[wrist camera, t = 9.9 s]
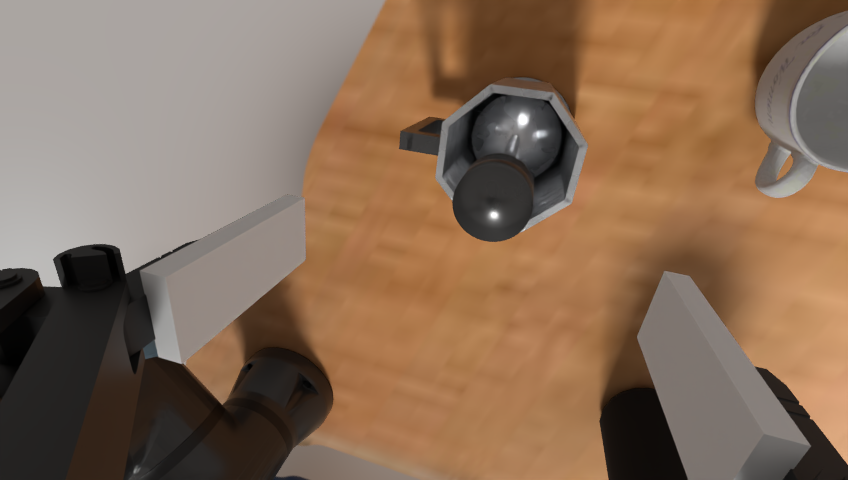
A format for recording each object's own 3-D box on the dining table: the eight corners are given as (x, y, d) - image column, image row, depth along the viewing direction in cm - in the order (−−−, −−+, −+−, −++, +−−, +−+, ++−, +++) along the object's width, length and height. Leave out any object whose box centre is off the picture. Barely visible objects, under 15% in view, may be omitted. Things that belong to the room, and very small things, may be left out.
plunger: (467, 171, 40) (408, 257, 23) (480, 87, 37) (423, 111, 19) (548, 186, 39) (553, 290, 21) (570, 99, 35) (597, 137, 18)
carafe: (429, 169, 44) (388, 207, 33) (441, 66, 40) (399, 68, 28) (557, 192, 41) (563, 243, 30) (586, 84, 37) (605, 96, 25)
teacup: (842, -25, 30) (935, -51, 23) (945, 72, 30) (1066, 76, 23) (677, 125, 36) (709, 141, 29) (764, 203, 37) (816, 237, 30)
